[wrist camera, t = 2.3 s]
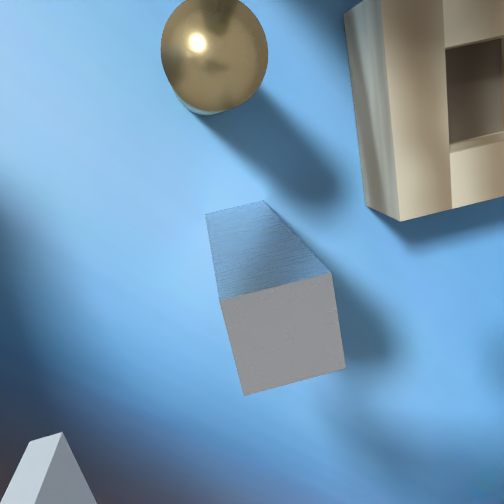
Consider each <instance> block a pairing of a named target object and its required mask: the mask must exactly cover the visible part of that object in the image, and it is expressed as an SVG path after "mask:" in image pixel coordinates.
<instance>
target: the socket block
mask: <svg viewBox="0 0 504 504" xmlns="http://www.w3.org/2000/svg"><path fill="white" fill-rule="evenodd" d="M343 17H344V26H345V34H346V43H347V51H348V60H349V68H350V77H351V86H352V94H353V103H354V111H355V120H356V128H357V137H358V145H359V154H360V163H361V171H362V180H363V188H364V197H365V205H366V206H368V207H370V208H372V209H374V210H377V211H379V212H381V213H383V214H385V215H387V216H389V217H391V218H394V219H396V220H398V221H400V222H401V221H405V220H409V219H413V218H417V217H421V216H425V215H429V214H433V213H437V212H441V211H446V210H450V209H454V208H458V207H462V206H466V205H470V204H474V203H478V202H482V201H486V200H490V199H494V198H498V197H502V196H504V0H363V1H362V2H360V3H359V4H357V5H356V6H354V7H353V8H352V9H350V10H349V11H347V12H346V13H345V14H343Z"/></svg>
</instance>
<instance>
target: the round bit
mask: <svg viewBox="0 0 504 504" xmlns="http://www.w3.org/2000/svg"><path fill="white" fill-rule="evenodd" d="M161 59H162V64H163V68H164V71H165V73H166V76H167V78H168V80H169V82H170V84H171V86H172V88H173V90H174V92H175V94H176V96H177V98H178V99H179V101H180V102H181V103H182V104H183V105H184V106H185V107H186V108H187V109H188V110H190V111H192V112H194V113H196V114H200V115H214V114H217V113H220V112H223V111H226V110H229V109H232V108H234V107H237V106H239V105H241V104H242V103H244V102H245V101H247V100H248V99H249V98H250V97H251V96H252V95H253V94H254V93H255V92H256V90H257V89H258V88H259V86H260V84H261V82H262V81H263V78H264V75H265V73H266V68H267V63H268V47H267V41H266V36H265V34H264V31H263V28H262V26H261V24H260V22H259V21H258V19H257V18H256V16H255V15H254V14H253V12H252V11H251V10H250V9H249V8H248V7H247V6H245V5H244V4H243V3H241V2H240V1H239V0H186V1H184V2H183V3H182V4H180V5H179V6H178V7H177V8H176V9H175V10H174V12H173V13H172V14H171V16H170V17H169V19H168V21H167V23H166V25H165V27H164V31H163V34H162V39H161Z"/></svg>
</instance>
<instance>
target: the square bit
mask: <svg viewBox="0 0 504 504" xmlns="http://www.w3.org/2000/svg"><path fill="white" fill-rule="evenodd" d="M205 217H206V223H207V229H208V235H209V241H210V247H211V253H212V259H213V265H214V271H215V277H216V283H217V289H218V295H219V301H220V305H221V309H222V313H223V317H224V321H225V325H226V328H227V332H228V336H229V340H230V344H231V348H232V352H233V356H234V359H235V363H236V367H237V371H238V375H239V379H240V383H241V387H242V391H243V394H244V396H246V395H250V394H253V393H257V392H261V391H264V390H268V389H272V388H275V387H279V386H283V385H287V384H290V383H294V382H298V381H301V380H305V379H309V378H312V377H316V376H320V375H323V374H327V373H331V372H334V371H338V370H342V369H346V364H345V358H344V351H343V345H342V338H341V332H340V325H339V319H338V312H337V306H336V299H335V293H334V286H333V280H332V273H331V272H330V271H329V270H328V269H327V267H326V266H325V265H324V264H323V263H322V262H321V261H320V260H319V259H318V258H317V257H316V256H315V255H314V254H313V253H312V252H311V251H310V249H309V248H308V247H307V246H306V245H305V244H304V243H303V242H302V241H301V240H300V239H299V238H298V237H297V236H296V235H295V234H294V233H293V232H292V230H291V229H290V228H289V227H288V226H287V225H286V224H285V223H284V222H283V221H282V220H281V219H280V218H279V217H278V216H277V215H276V214H275V212H274V211H273V210H272V209H271V208H270V207H269V206H268V205H267V204H266V203H265V202H264V201H259V202H255V203H251V204H246V205H242V206H238V207H234V208H229V209H225V210H221V211H217V212H212V213H208V214H205Z"/></svg>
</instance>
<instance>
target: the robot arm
mask: <svg viewBox="0 0 504 504" xmlns="http://www.w3.org/2000/svg"><path fill="white" fill-rule="evenodd" d="M0 504H97V503H96V501H95V499H94V496H93V494H92V492H91V490H90V488H89V486H88V484H87V482H86V480H85V478H84V476H83V474H82V472H81V469H80V467H79V465H78V463H77V461H76V459H75V457H74V455H73V453H72V451H71V449H70V447H69V445H68V443H67V440H66V438H65V436H64V434H63V432H60V433H57V434H54V435H50V436H47V437H43V438H40V439H37V440H33V441H30V442H29V444H28V446H27V448H26V450H25V453H24V455H23V457H22V459H21V461H20V463H19V465H18V467H17V469H16V471H15V473H14V475H13V478H12V480H11V482H10V484H9V486H8V488H7V490H6V492H5V494H4V496H3V498H2V500H1V502H0Z"/></svg>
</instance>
